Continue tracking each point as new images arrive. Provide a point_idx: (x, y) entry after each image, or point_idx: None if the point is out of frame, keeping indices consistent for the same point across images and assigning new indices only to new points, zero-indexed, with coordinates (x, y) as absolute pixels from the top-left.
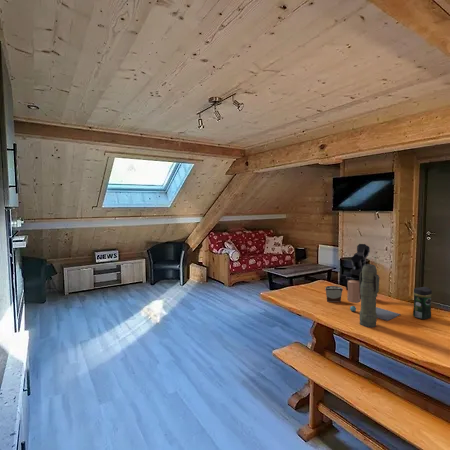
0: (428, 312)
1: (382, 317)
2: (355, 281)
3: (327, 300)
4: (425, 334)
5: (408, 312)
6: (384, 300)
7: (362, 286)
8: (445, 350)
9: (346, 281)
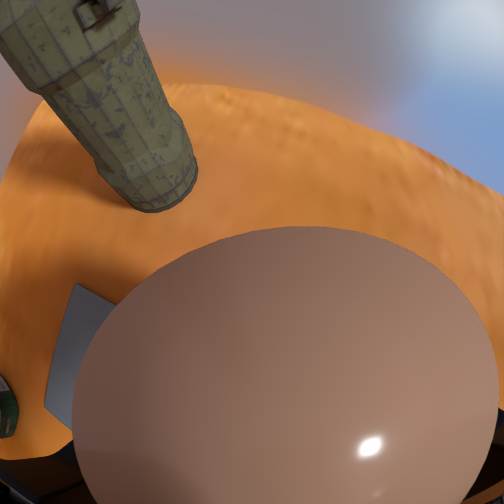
0: None
1: (94, 311)
2: (239, 474)
3: None
4: (7, 223)
5: (39, 450)
6: None
7: None
8: (12, 155)
9: (494, 433)
